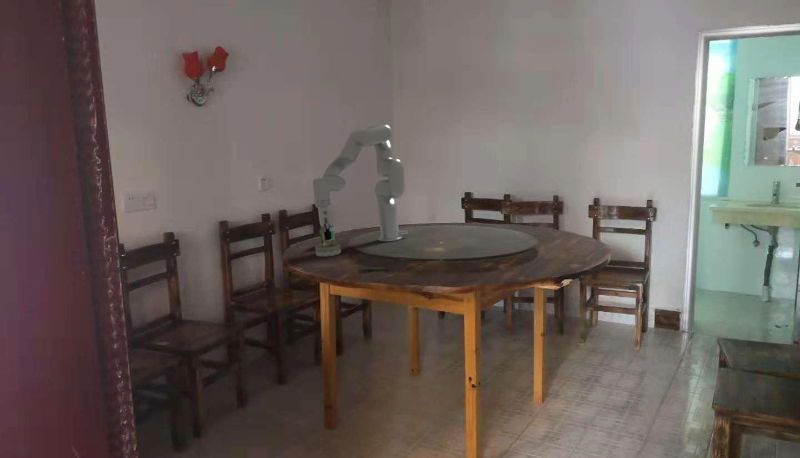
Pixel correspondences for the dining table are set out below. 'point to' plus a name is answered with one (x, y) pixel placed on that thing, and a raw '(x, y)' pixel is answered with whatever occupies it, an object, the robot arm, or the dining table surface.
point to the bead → (328, 250)
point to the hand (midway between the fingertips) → (326, 238)
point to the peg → (326, 242)
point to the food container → (331, 234)
